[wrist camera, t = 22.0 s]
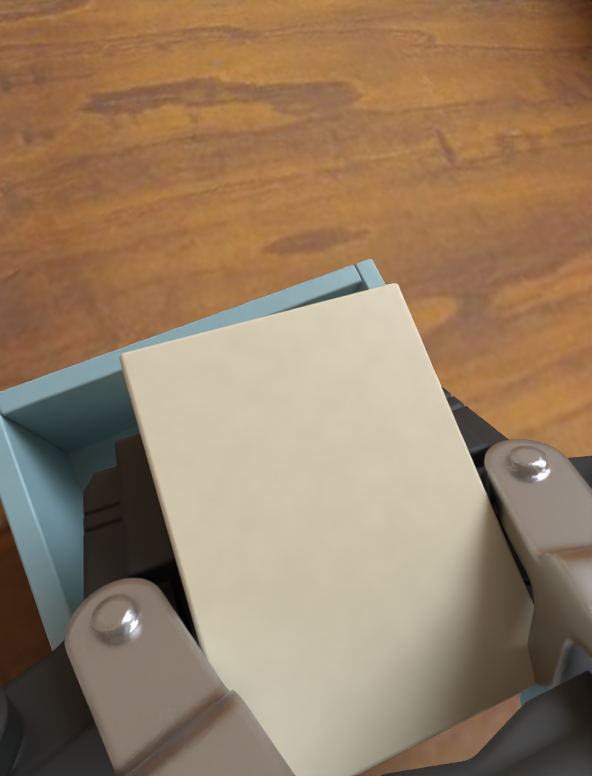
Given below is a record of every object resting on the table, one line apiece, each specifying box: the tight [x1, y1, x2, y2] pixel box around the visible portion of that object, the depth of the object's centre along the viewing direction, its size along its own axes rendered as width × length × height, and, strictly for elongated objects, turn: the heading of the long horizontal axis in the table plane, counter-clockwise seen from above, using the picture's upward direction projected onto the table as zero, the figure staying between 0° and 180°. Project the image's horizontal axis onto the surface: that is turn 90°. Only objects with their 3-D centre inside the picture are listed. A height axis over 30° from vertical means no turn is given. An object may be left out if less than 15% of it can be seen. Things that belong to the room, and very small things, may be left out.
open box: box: [0, 259, 385, 651], centre depth 16 cm, size 11×11×7 cm
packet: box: [119, 283, 535, 776], centre depth 11 cm, size 4×6×9 cm
